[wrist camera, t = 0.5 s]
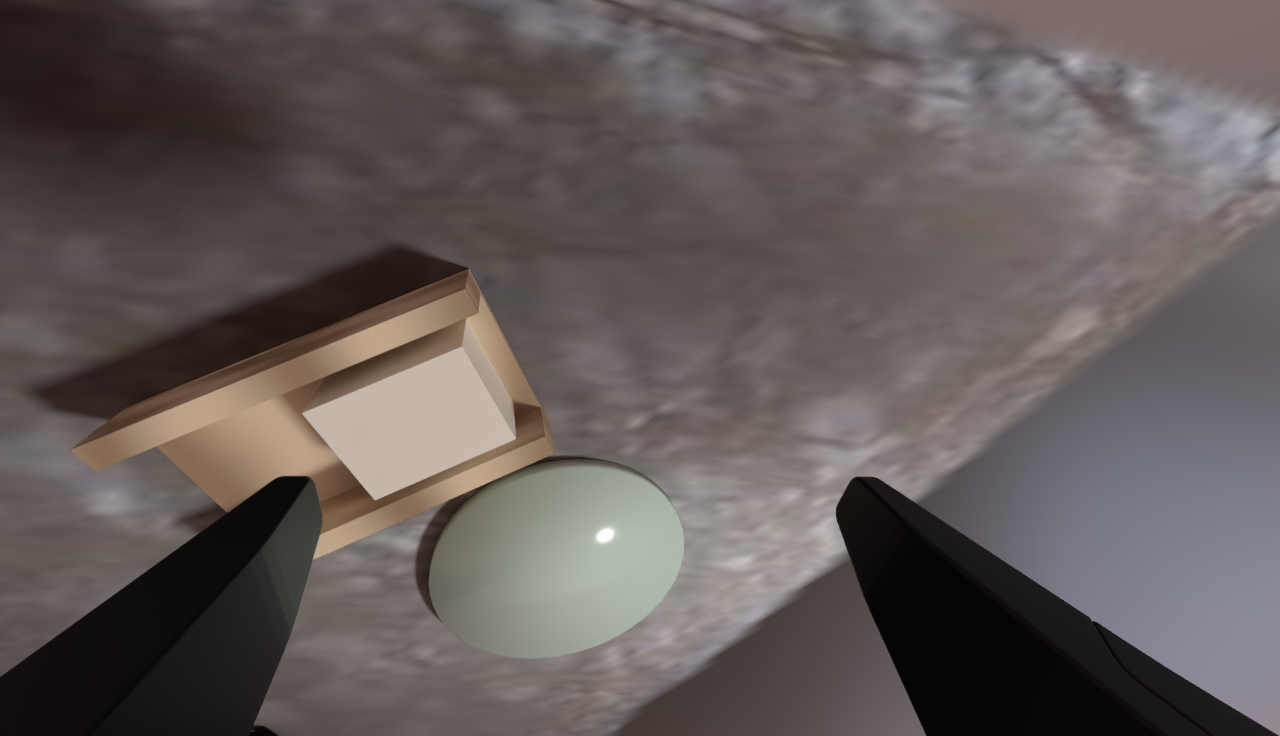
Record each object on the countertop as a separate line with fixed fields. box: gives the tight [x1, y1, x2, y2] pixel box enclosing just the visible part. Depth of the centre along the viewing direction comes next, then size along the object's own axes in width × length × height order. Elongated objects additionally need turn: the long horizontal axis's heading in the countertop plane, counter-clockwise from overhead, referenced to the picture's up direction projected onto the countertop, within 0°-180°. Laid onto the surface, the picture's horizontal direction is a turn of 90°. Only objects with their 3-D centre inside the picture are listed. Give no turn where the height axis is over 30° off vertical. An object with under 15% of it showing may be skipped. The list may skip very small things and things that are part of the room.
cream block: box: [302, 319, 516, 500], centre depth 20 cm, size 6×4×3 cm
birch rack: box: [70, 269, 555, 560], centre depth 20 cm, size 14×8×3 cm, turn 110°
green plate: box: [429, 459, 684, 659], centre depth 28 cm, size 14×14×1 cm
